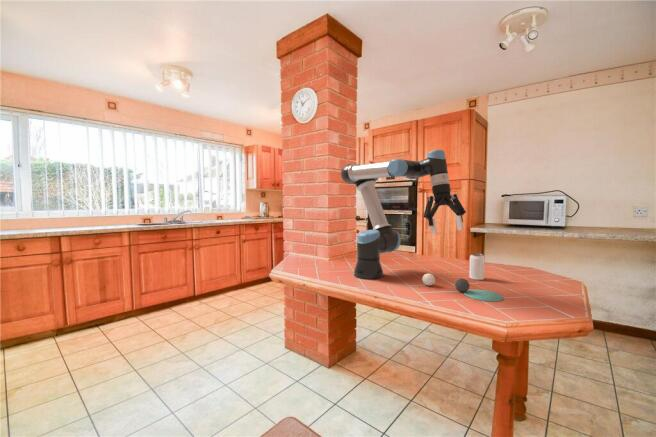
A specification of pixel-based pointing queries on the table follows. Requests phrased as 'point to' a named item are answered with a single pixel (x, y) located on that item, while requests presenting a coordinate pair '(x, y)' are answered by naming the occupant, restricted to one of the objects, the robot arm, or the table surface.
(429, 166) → the robot arm
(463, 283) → the object ball
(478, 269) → the can
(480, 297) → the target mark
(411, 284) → the table surface
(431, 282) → the cue ball
